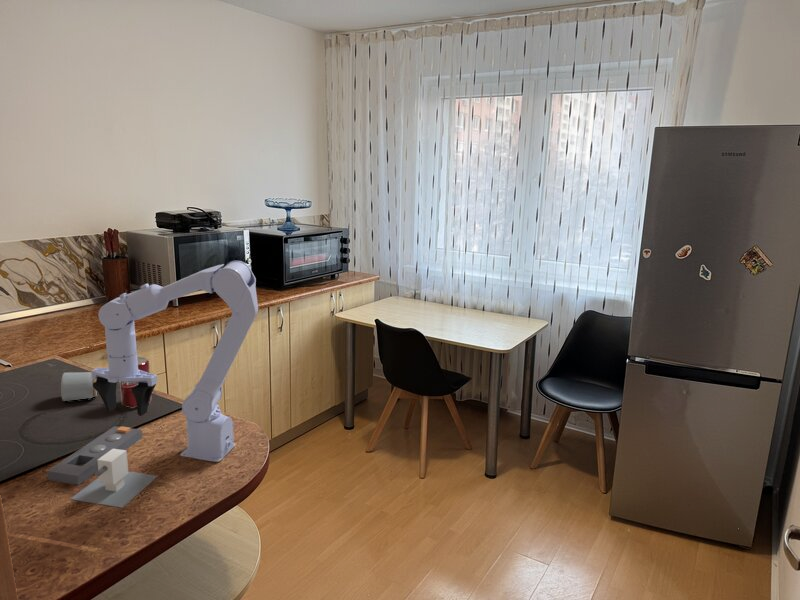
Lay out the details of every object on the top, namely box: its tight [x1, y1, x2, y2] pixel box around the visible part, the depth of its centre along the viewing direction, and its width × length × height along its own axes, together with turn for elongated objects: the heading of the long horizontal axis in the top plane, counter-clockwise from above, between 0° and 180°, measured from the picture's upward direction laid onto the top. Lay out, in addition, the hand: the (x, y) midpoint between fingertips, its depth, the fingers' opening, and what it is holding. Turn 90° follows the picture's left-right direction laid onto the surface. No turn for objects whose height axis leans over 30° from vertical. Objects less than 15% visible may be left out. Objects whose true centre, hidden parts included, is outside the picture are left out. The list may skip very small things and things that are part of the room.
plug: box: [94, 449, 129, 492], centre depth 107 cm, size 3×6×7 cm, turn 170°
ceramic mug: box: [60, 371, 98, 402], centre depth 149 cm, size 11×8×8 cm
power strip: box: [46, 425, 143, 486], centre depth 120 cm, size 20×7×3 cm, turn 169°
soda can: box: [119, 356, 152, 407], centre depth 146 cm, size 7×7×12 cm
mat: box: [70, 470, 158, 509], centre depth 109 cm, size 11×11×1 cm
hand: (127, 411), depth 122 cm, fingers open, 7 cm apart
